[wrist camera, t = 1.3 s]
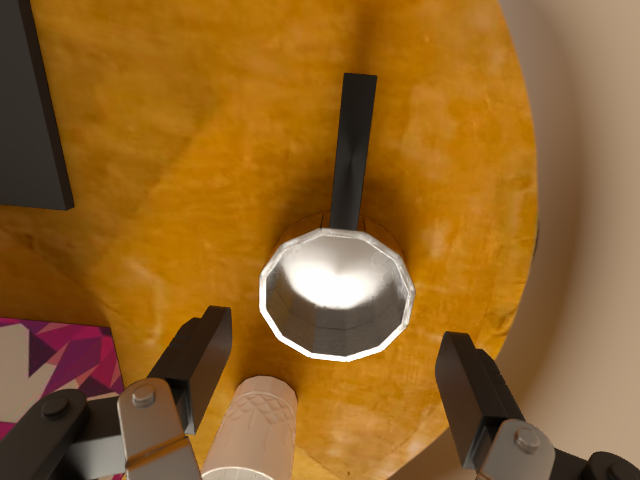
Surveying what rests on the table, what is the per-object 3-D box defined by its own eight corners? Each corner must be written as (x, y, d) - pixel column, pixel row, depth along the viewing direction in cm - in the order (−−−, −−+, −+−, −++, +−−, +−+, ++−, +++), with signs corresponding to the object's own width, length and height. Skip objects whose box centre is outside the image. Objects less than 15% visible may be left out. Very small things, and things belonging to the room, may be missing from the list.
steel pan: (393, 336, 33) (399, 367, 29) (268, 322, 33) (258, 352, 30) (444, 83, 24) (462, 82, 20) (273, 69, 25) (260, 65, 21)
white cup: (315, 389, 37) (305, 490, 27) (284, 433, 40) (265, 537, 30) (247, 359, 36) (212, 453, 26) (220, 406, 39) (181, 506, 29)
